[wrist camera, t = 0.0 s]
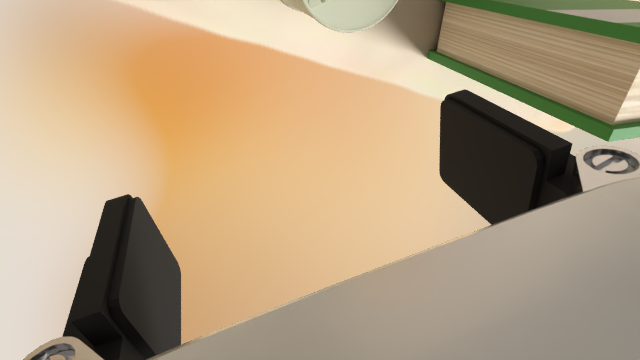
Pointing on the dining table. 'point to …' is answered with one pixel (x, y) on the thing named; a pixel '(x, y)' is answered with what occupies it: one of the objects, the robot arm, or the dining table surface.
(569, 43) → the hardback book
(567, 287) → the robot arm
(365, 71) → the dining table surface
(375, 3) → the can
